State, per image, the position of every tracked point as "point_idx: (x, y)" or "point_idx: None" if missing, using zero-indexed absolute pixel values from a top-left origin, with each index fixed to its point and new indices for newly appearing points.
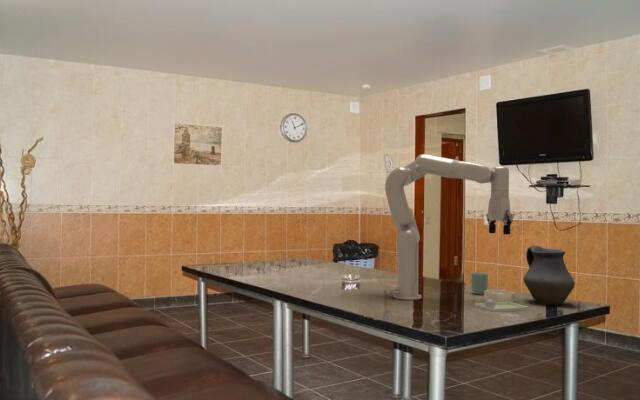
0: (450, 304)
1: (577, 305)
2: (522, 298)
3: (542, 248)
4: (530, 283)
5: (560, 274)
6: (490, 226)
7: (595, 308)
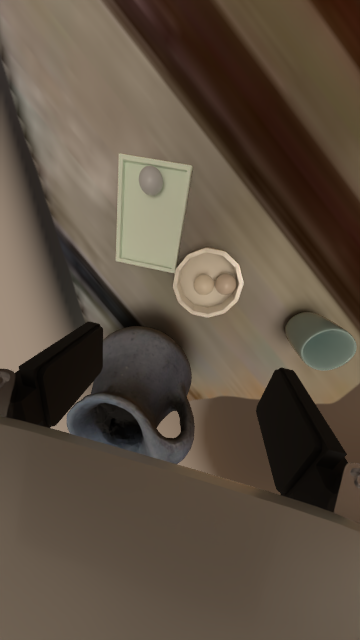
0: (254, 127)
1: None
2: (212, 355)
3: None
4: (145, 327)
5: None
6: (302, 423)
7: None
